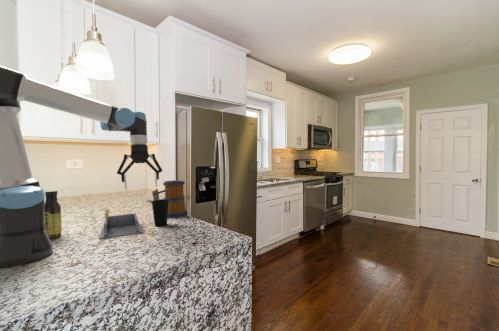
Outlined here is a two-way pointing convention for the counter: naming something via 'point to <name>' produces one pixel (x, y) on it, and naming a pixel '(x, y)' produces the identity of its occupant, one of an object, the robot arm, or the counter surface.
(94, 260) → the counter surface
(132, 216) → the tray
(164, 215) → the cup
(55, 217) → the sauce bottle
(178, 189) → the mug
